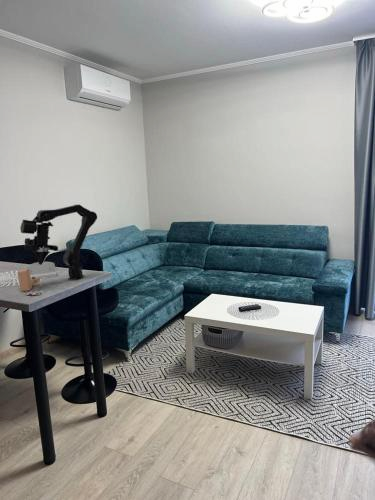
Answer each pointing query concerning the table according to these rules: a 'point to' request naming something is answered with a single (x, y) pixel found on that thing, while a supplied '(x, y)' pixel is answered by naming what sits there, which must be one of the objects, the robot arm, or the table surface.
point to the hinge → (42, 270)
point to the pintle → (35, 283)
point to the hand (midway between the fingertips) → (40, 264)
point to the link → (26, 280)
